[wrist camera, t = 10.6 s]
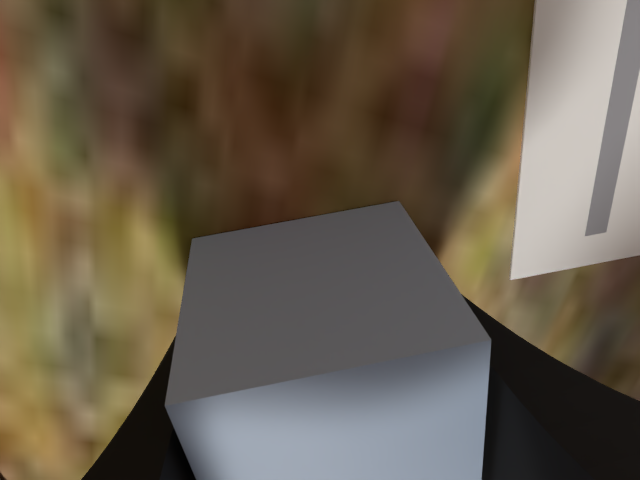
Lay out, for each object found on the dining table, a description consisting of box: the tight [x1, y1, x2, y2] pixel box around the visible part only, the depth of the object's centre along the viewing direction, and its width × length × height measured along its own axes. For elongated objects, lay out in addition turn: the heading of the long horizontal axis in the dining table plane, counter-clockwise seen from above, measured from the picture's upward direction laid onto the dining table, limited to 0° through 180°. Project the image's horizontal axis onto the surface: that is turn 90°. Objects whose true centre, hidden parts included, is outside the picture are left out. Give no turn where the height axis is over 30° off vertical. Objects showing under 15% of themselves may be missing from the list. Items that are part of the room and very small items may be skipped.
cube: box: [165, 201, 491, 480], centre depth 11 cm, size 5×5×5 cm
